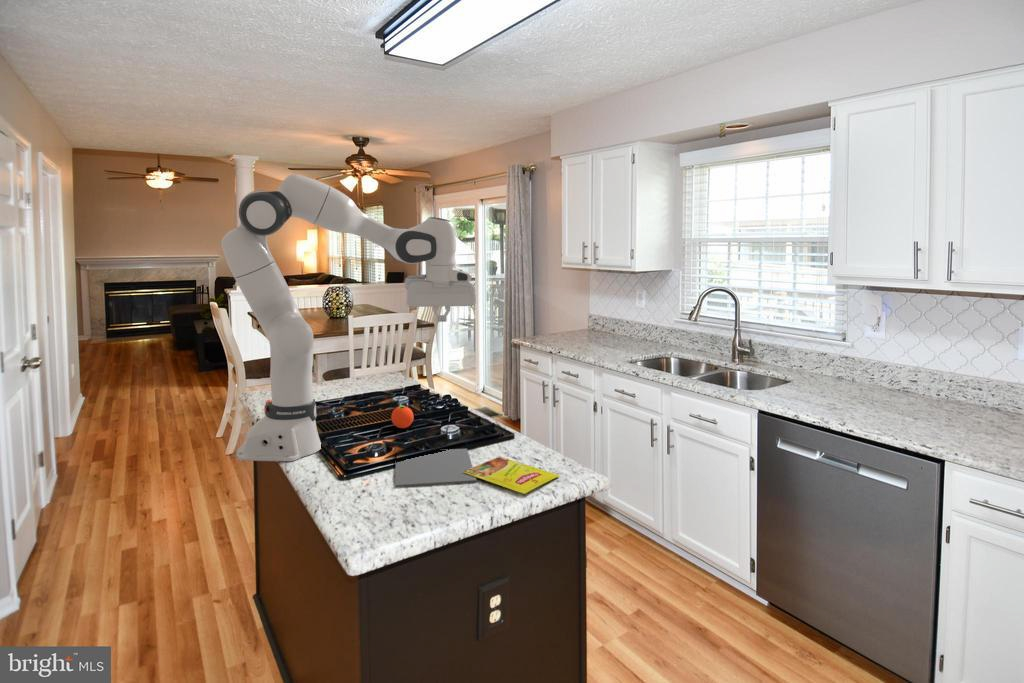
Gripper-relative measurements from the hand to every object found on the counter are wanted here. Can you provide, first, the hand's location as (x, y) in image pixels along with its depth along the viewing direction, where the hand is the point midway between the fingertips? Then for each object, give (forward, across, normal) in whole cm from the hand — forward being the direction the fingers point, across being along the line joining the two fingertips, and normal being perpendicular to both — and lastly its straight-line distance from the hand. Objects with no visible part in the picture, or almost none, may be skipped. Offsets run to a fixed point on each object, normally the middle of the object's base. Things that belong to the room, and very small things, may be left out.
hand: (441, 321), depth 183 cm
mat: (+35, -4, -25) cm, 43 cm away
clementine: (+35, -12, +9) cm, 38 cm away
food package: (+35, +8, -26) cm, 44 cm away
